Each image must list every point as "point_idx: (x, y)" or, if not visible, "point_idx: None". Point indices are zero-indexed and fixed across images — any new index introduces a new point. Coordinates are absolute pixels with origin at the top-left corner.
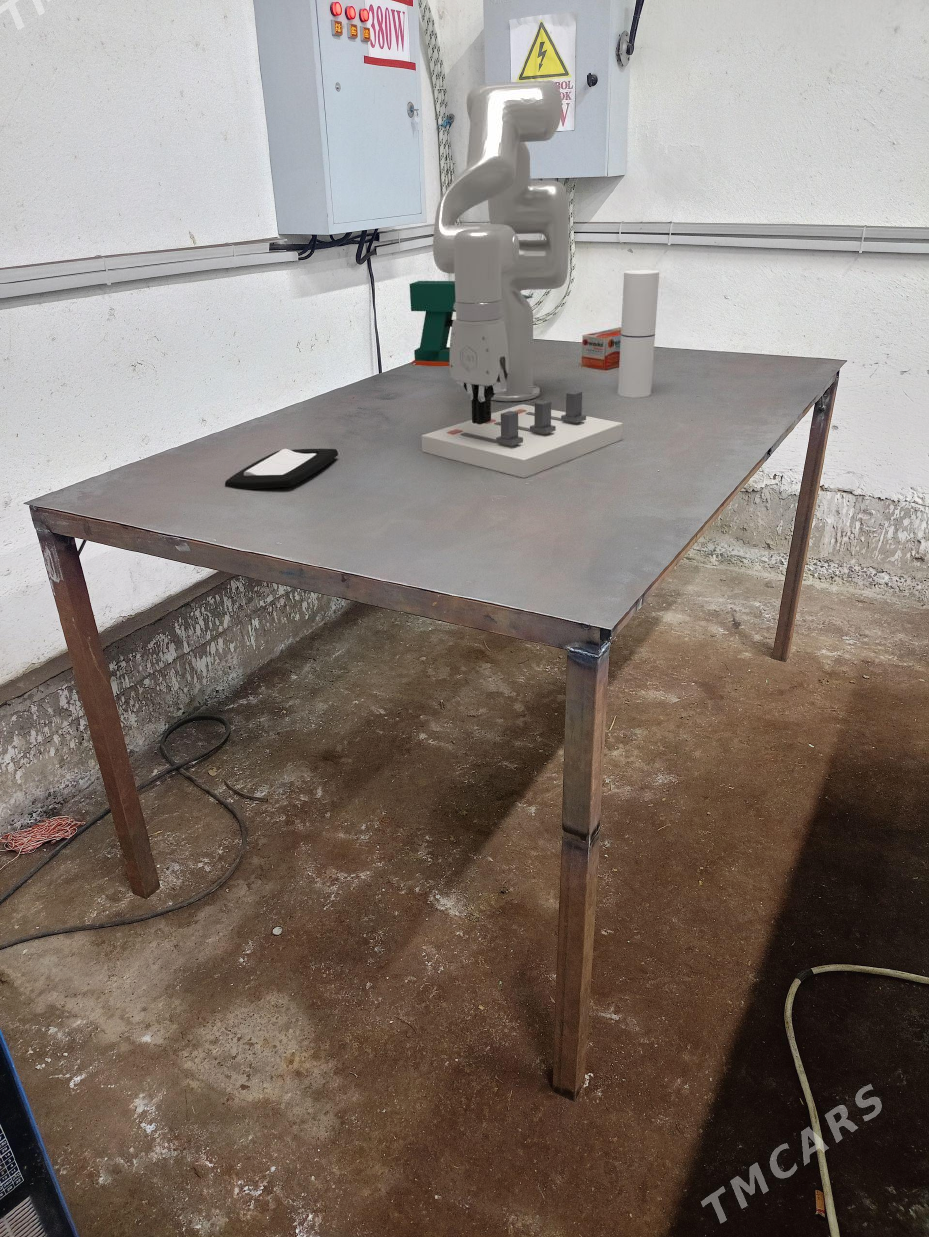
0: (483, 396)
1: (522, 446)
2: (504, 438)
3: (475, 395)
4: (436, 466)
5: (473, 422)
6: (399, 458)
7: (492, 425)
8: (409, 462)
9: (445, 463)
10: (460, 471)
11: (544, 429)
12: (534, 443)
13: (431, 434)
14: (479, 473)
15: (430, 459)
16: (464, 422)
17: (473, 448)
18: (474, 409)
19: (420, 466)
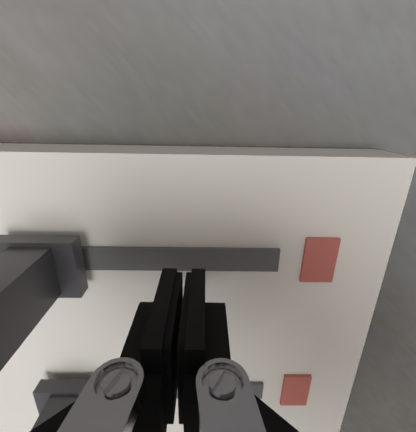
0: (79, 398)
1: None
2: (31, 248)
3: (193, 403)
4: (228, 50)
5: (196, 268)
6: (412, 34)
7: (259, 371)
8: (347, 19)
9: (226, 99)
10: (119, 61)
11: (37, 392)
12: None
13: (385, 191)
14: (55, 87)
15: (300, 101)
16: (359, 351)
17: (121, 153)
18: (187, 313)
19: (279, 7)
